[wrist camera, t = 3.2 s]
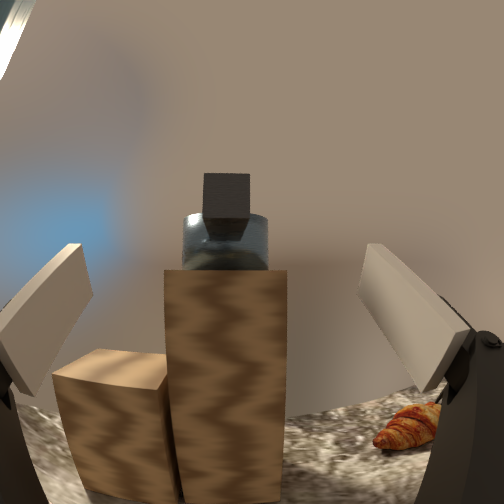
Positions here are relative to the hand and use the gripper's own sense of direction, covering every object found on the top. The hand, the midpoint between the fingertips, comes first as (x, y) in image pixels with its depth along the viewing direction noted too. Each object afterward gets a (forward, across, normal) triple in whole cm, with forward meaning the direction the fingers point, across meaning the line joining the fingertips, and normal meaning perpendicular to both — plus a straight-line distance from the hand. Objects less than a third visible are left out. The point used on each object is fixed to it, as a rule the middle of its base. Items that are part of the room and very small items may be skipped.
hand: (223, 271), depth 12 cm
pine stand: (+4, -6, -36) cm, 37 cm away
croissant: (+6, +33, -38) cm, 50 cm away
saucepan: (+14, 0, -7) cm, 16 cm away
